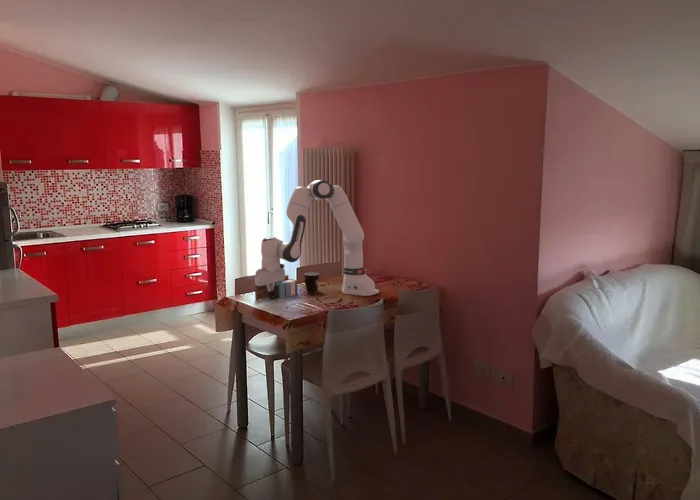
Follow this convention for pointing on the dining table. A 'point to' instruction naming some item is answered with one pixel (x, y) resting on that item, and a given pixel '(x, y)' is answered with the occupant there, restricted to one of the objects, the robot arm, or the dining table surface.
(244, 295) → the dining table surface
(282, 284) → the teal rectangular block
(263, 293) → the walnut rack
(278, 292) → the bookend
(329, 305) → the dining table surface
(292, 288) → the cream book
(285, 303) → the dining table surface
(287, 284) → the slate book
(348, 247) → the robot arm
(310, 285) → the coffee mug
